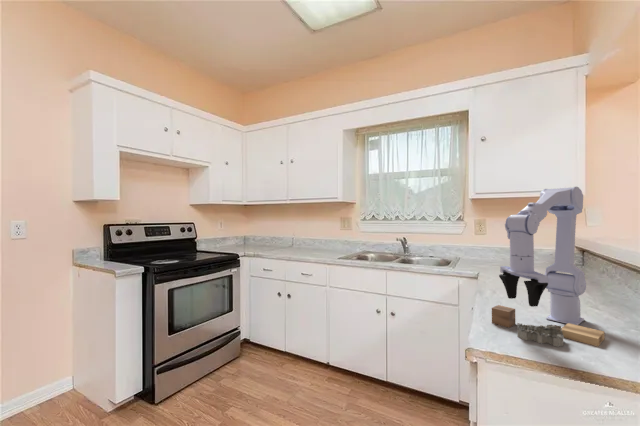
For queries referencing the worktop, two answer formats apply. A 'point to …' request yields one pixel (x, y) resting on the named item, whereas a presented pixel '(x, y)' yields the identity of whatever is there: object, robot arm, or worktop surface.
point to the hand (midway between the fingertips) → (522, 302)
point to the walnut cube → (503, 316)
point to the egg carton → (541, 334)
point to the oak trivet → (583, 334)
